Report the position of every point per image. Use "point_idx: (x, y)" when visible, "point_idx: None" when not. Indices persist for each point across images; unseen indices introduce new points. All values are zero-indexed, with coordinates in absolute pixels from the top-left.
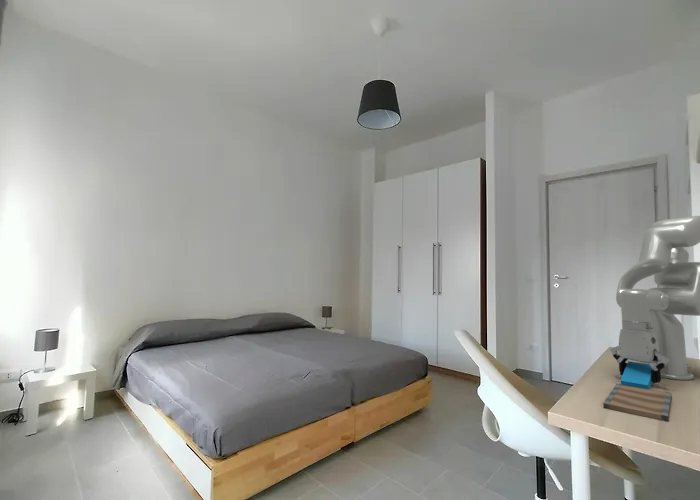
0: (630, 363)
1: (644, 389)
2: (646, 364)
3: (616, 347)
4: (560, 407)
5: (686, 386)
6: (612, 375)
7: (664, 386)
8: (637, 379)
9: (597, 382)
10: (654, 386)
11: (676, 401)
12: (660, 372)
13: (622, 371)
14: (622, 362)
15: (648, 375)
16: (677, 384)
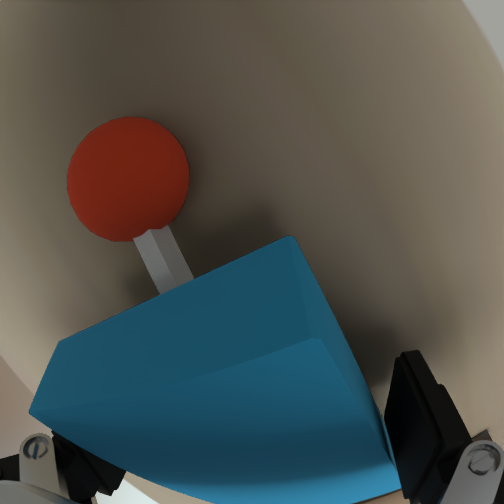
0: (85, 438)
1: (400, 496)
2: (205, 393)
3: None
4: None
5: (466, 70)
6: (52, 332)
7: (409, 270)
8: (339, 500)
9: (192, 498)
10: (370, 350)
11: (499, 444)
12: (468, 433)
13: None
14: (95, 491)
15: (377, 472)
16: (407, 64)
